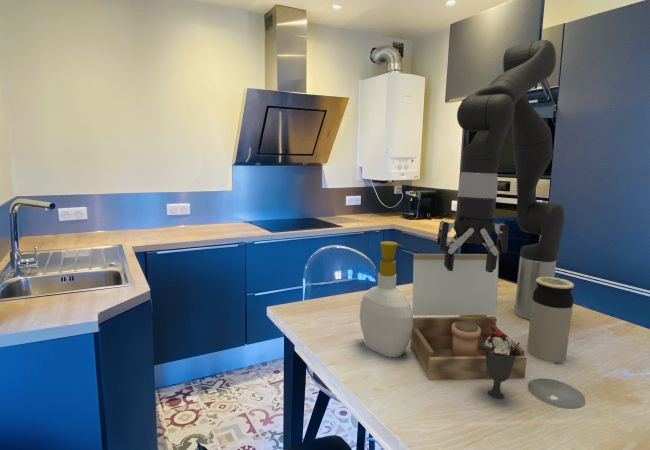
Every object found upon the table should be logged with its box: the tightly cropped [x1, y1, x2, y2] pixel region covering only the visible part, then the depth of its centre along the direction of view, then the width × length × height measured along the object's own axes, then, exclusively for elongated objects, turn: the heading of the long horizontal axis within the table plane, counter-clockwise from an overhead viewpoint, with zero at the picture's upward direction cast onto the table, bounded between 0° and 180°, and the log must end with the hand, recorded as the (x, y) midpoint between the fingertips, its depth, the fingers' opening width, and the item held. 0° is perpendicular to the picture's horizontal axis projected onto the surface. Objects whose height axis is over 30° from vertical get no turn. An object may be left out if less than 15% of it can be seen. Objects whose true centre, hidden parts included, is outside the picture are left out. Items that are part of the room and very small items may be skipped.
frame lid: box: [411, 253, 500, 317], centre depth 93 cm, size 20×14×1 cm
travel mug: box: [526, 276, 575, 364], centre depth 91 cm, size 8×8×18 cm
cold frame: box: [409, 316, 528, 381], centre depth 88 cm, size 20×14×8 cm
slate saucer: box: [527, 378, 586, 410], centre depth 77 cm, size 10×10×1 cm
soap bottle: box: [359, 240, 414, 358], centre depth 92 cm, size 14×9×26 cm, turn 41°
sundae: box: [482, 321, 521, 400], centre depth 75 cm, size 7×7×15 cm
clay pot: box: [451, 322, 481, 357], centre depth 88 cm, size 6×6×8 cm
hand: (469, 270), depth 85 cm, fingers open, 8 cm apart
